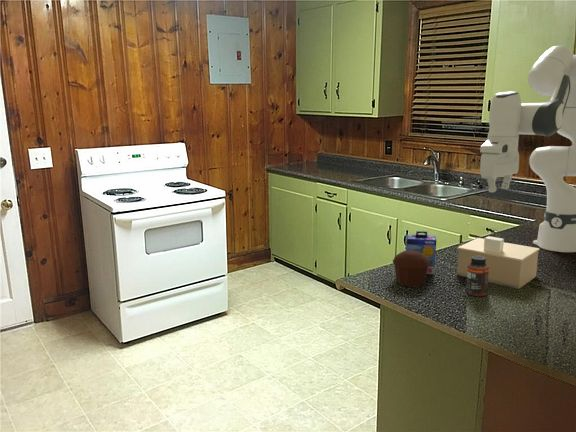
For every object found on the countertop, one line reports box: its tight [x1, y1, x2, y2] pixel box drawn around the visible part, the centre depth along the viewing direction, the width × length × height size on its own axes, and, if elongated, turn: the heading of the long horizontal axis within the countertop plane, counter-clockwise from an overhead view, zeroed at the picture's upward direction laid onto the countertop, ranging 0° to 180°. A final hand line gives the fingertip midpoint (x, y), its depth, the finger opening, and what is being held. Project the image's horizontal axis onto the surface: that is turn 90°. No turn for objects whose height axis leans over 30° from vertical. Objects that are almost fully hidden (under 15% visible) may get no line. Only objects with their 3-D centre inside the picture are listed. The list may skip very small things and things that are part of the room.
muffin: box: [392, 250, 430, 287], centre depth 163 cm, size 12×11×10 cm
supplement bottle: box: [465, 256, 489, 297], centre depth 152 cm, size 6×6×11 cm
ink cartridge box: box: [405, 230, 437, 275], centre depth 173 cm, size 10×6×14 cm, turn 79°
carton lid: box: [457, 235, 541, 261], centre depth 166 cm, size 16×20×5 cm
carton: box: [456, 249, 539, 290], centre depth 168 cm, size 15×20×9 cm
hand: (498, 190), depth 160 cm, fingers open, 8 cm apart
